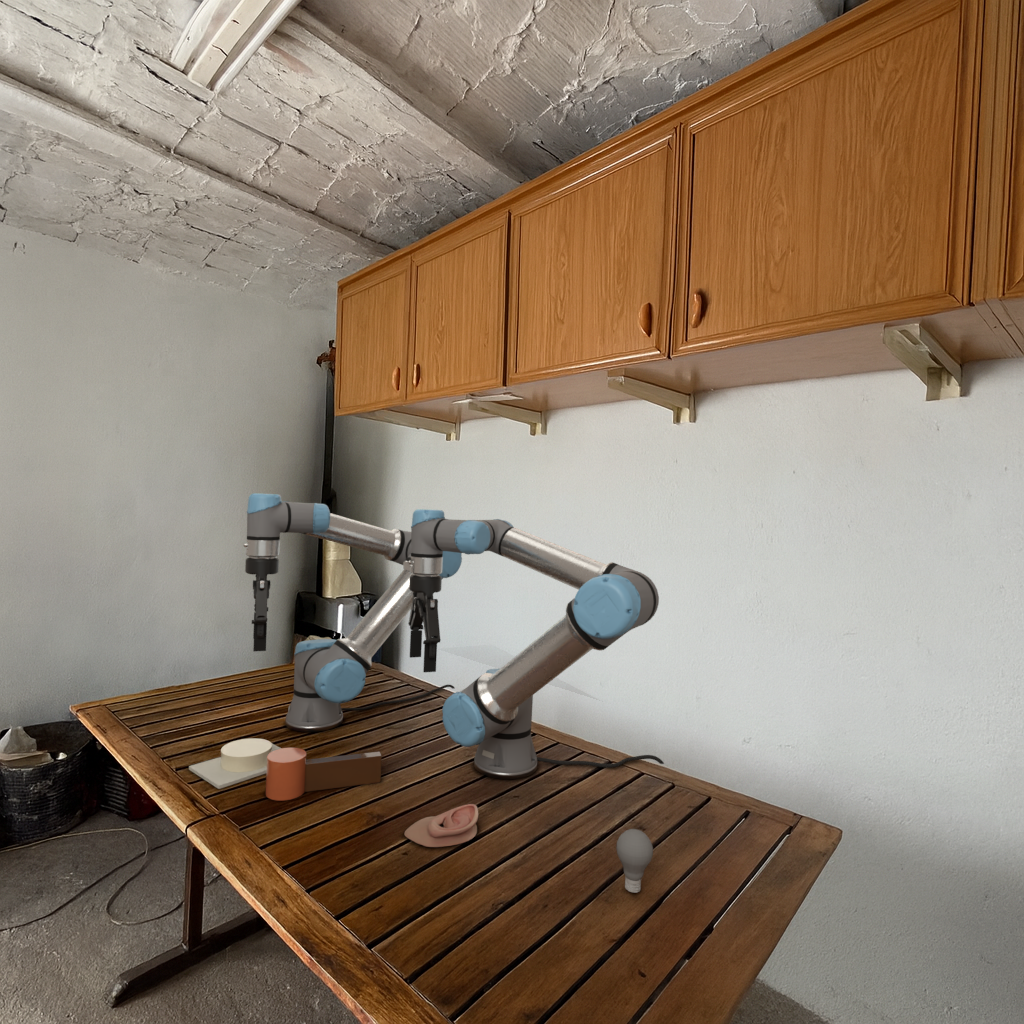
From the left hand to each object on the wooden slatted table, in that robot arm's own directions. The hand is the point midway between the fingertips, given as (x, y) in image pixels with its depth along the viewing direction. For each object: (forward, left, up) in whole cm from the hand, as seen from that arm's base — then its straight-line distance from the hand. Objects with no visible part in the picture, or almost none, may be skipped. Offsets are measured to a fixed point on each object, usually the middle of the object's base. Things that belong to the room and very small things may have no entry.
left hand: (259, 644), depth 154 cm
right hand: (-22, +34, -2) cm, 41 cm away
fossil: (-48, -41, -27) cm, 69 cm away
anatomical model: (-5, +59, -27) cm, 65 cm away
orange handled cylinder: (-1, +27, -27) cm, 38 cm away
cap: (+5, +5, -26) cm, 27 cm away
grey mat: (+5, +5, -27) cm, 28 cm away
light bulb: (-14, +95, -27) cm, 100 cm away
